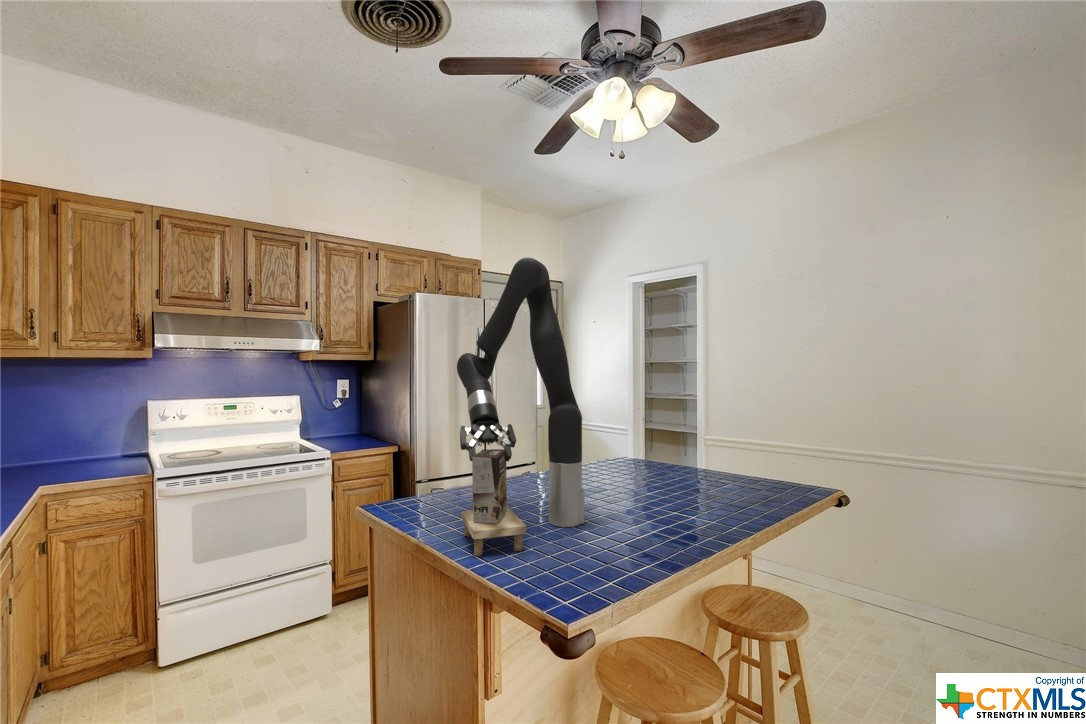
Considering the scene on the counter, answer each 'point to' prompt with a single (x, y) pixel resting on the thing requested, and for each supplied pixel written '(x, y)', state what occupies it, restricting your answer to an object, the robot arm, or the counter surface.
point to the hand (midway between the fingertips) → (491, 460)
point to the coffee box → (489, 485)
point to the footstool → (494, 530)
